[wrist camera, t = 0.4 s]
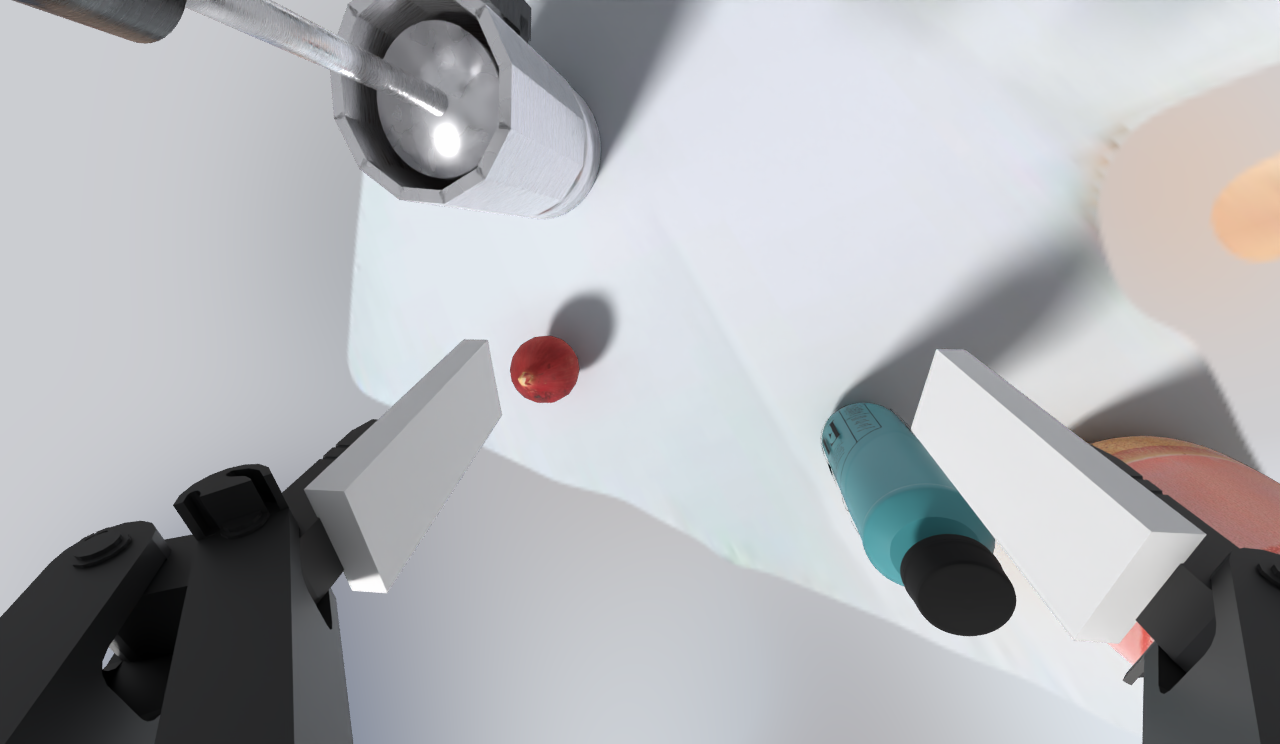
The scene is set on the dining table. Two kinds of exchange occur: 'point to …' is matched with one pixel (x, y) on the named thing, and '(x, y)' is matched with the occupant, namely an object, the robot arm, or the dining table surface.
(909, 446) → the beverage bottle
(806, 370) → the dining table surface
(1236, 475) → the vase
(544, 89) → the press pot
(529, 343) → the onion
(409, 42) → the plunger
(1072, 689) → the dining table surface
